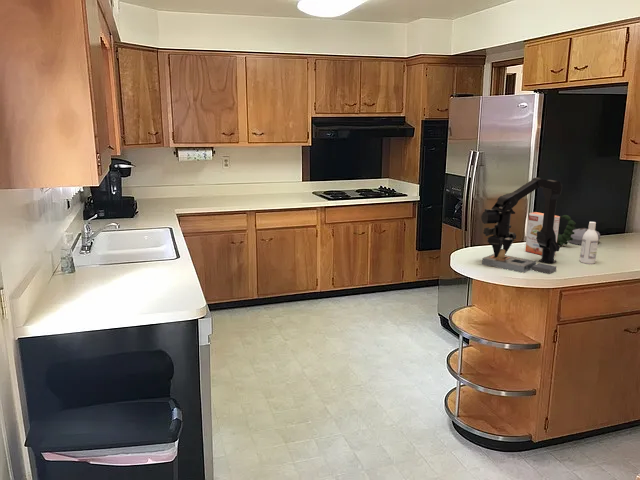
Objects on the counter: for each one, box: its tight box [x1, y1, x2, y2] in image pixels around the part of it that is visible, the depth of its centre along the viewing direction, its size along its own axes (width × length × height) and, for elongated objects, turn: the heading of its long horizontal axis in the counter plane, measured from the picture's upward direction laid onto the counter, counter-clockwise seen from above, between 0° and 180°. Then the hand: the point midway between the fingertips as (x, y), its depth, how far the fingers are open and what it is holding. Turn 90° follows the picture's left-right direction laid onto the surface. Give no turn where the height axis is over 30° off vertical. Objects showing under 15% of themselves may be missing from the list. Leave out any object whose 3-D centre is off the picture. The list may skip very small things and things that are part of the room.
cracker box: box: [524, 211, 561, 256], centre depth 269 cm, size 14×6×21 cm, turn 35°
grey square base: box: [531, 262, 557, 275], centre depth 239 cm, size 8×8×2 cm
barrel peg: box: [496, 248, 506, 259], centre depth 248 cm, size 4×4×7 cm
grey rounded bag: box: [568, 227, 601, 245], centre depth 299 cm, size 15×8×20 cm
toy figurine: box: [557, 214, 577, 246], centre depth 294 cm, size 9×19×25 cm
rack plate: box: [481, 253, 537, 273], centre depth 246 cm, size 14×20×3 cm
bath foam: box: [579, 221, 599, 265], centre depth 254 cm, size 7×7×20 cm
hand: (500, 255), depth 248 cm, fingers open, 9 cm apart
